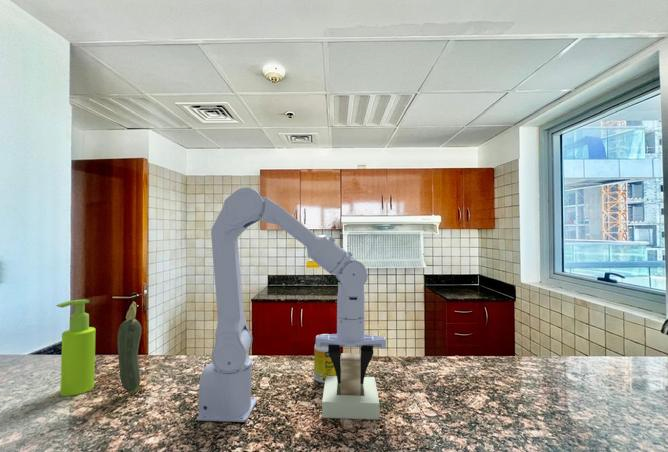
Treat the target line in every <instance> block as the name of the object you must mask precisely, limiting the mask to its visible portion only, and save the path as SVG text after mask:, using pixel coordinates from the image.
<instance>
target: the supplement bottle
mask: <svg viewBox="0 0 668 452" xmlns="http://www.w3.org/2000/svg"><path fill="white" fill-rule="evenodd" d="M320 335H329V333H322V334H320ZM313 348H314V349H313V350H314V351H313V353H314V355H313V357H314V358H313V361H314V362H313V363H314V364H313V368H314V369H313V378H314V380H315V381H316V382H318V383H323V384H325V379H326V376H337V375H336V371H335V368H334V365H333V363H332V360H331V358H330V356H329V354H328V346H321V347H316V343H315V344H314V347H313Z"/></svg>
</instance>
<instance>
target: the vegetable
mask: <svg viewBox="0 0 668 452" xmlns="http://www.w3.org/2000/svg"><path fill="white" fill-rule="evenodd" d="M136 315H137V302H135V301H134V300H133V301H132V303H131V304H130V306H129V308H128V310H127V312H126V316H125V319H126V320H124V321H123V322H122V323H121V324H120V325H119V328H118V331H117V346H116V347H117V352H118V353H117V355H118V357H117V358H118V369H119V371H118V372H119V379H120V382H121V385H122V389H124V390H125V391H126V392H127V393H129V394H132V393H137V392H138V390H139V389H140V383H141V376H140V375H141V374H140V365H139V348H140V347H139V346H140V342H141V337H142V324H141V323H140V321H139V320H137V319H136Z"/></svg>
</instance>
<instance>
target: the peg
mask: <svg viewBox="0 0 668 452" xmlns="http://www.w3.org/2000/svg"><path fill="white" fill-rule="evenodd" d="M340 364H341V395H353V396H360V376H361V353H355V352H353V353H351V352H350V353H349V352H342V353H341V352H340Z"/></svg>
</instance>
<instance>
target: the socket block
mask: <svg viewBox="0 0 668 452" xmlns="http://www.w3.org/2000/svg"><path fill="white" fill-rule="evenodd" d="M377 388H378V387H377V383H376V379H375V377H374V376H365V377H364V384H360V396H353V395H341V384H339V383H338V381H337V376H326V379H325V383H324V386H323V394H322V400H321V418H325V419H350V420H352V419H354V420H357V419H358V420H380V419H381V417H380V415H381V414H380V411H381V410H380V409H381V407H380V404H381V403H380V400H379V398H380V397H379V394H378V390H377Z"/></svg>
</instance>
